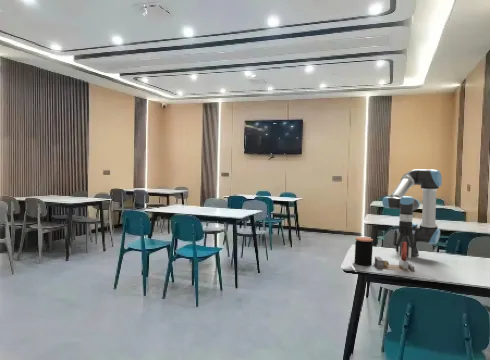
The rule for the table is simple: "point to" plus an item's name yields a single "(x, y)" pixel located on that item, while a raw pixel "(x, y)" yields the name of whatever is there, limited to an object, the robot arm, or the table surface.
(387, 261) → the nut
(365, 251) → the coffee jar
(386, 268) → the board
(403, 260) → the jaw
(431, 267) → the table surface
